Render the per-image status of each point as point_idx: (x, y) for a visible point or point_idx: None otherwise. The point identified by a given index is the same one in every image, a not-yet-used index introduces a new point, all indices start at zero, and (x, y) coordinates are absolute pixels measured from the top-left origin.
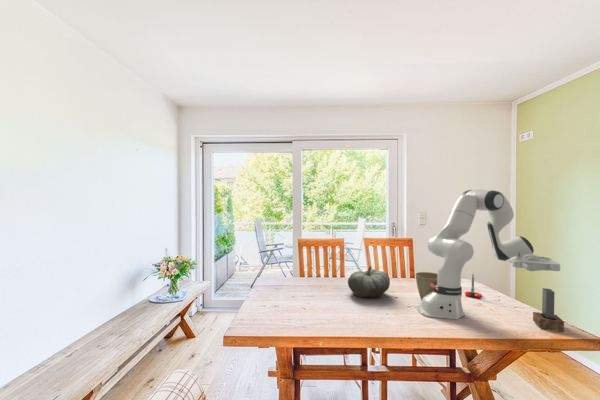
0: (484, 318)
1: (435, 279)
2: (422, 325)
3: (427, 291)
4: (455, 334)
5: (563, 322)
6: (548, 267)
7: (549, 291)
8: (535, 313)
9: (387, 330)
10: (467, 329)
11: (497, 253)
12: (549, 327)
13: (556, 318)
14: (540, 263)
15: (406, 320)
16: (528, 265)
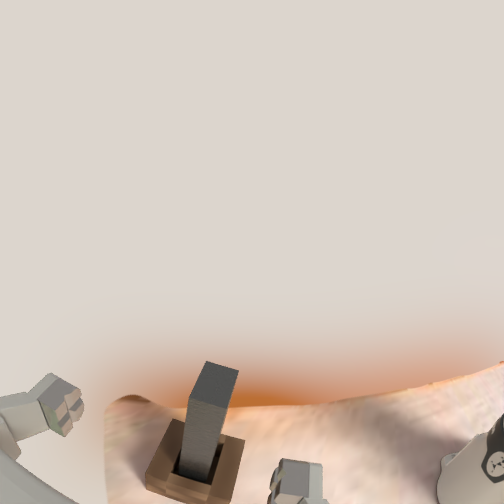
0: (386, 495)
1: None
2: (475, 410)
3: None
4: (426, 395)
5: (174, 420)
6: (63, 412)
7: (224, 368)
8: (230, 485)
9: (493, 382)
10: (414, 419)
11: None
12: None
13: (175, 443)
14: (64, 496)
15: None
16: (299, 461)
